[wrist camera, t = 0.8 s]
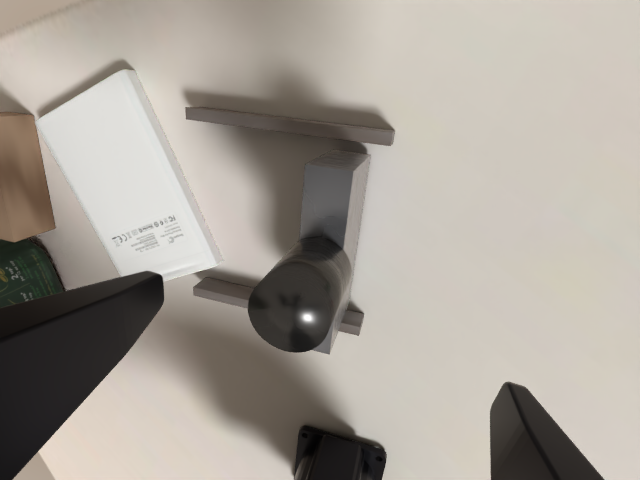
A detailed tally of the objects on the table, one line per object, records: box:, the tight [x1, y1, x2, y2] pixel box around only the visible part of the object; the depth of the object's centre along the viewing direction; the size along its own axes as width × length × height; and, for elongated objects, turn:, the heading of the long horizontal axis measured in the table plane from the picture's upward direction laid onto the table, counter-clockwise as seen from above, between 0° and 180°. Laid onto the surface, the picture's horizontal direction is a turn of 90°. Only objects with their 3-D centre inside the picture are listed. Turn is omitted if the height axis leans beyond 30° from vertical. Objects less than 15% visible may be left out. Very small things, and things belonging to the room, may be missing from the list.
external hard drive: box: [35, 69, 224, 281], centre depth 24 cm, size 2×8×12 cm
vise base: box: [0, 107, 395, 336], centre depth 22 cm, size 12×26×3 cm, turn 85°
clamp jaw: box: [248, 150, 371, 354], centre depth 17 cm, size 9×3×9 cm, turn 175°
